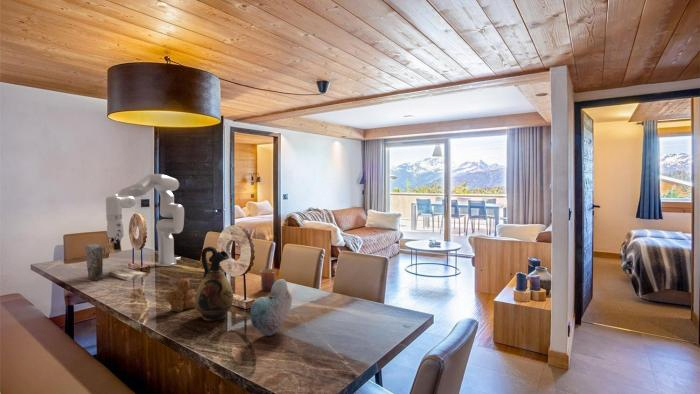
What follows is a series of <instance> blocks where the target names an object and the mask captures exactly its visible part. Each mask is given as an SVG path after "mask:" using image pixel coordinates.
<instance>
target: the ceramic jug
mask: <svg viewBox="0 0 700 394" xmlns="http://www.w3.org/2000/svg"><path fill="white" fill-rule="evenodd" d="M209 252H211V254H212V255H211V256H209V258H208V259H207V253H209ZM200 257H201V264H202V267H203V270H204V273H203V276H202V280H201V282H200V284H199V286H198V288H197V290H196V293H195V298H194V302H195V305H196V307H195V308H196V310H197V311H198V312H199V314H201V318H202V319H203V320H204V321H209V322H215V321H221V320H224V319H225V318H226V315H227V313H228V311H229V310H230V309H231V307H232V306H233V302H234V291H233V287H232V284H231V282H230V281H229V279H228V277H226V275H225V273H224V272H223V271H222V268H221V267H220V264H221V263H222V262H224V261H227V260H229V259H230V256H229V254H228V253H227V252H226V251H225V250H222V251H221V252H220V250H219V251H218V250H217V249H216V248H215V247H213V246H210V245H209V246H206V247H204V248H203V249H202V250H201V253H200ZM208 262H209V263H211V264H210V267H209V264H208Z"/></svg>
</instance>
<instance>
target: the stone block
mask: <svg viewBox="0 0 700 394" xmlns="http://www.w3.org/2000/svg"><path fill="white" fill-rule="evenodd" d="M102 246H103V245H101V244H98V243H94V244H86V245H85V246H84V247H85V256H86V267H87V275H88V276H87V279H89V280H91V281H94V282H96V281H99V280H103V270H104V269H103V266H104V263H103V260H104V259H103V257H104V256H103V254H104V250H103V248H101V247H102Z"/></svg>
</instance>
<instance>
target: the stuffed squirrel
mask: <svg viewBox="0 0 700 394" xmlns="http://www.w3.org/2000/svg"><path fill="white" fill-rule="evenodd" d="M174 284H176V286H177V287H178V288H174V289H173V290H170V291H168V292H167V293H166V294H165V296H164V297H165V300H166V302H168V303H169V305H170V308H171V310H172V311H174V312H177V313H179V312H183V311H184V310H189V309H194V308H196V305H195V300H194V298H193V295H194V294H195V289H194V288H193V289H190V287H192V286H194V284H193V283H192V282H191V281H190V280H189V279H188V278H181V279H179V280H175V281H174Z"/></svg>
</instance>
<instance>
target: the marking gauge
mask: <svg viewBox="0 0 700 394" xmlns="http://www.w3.org/2000/svg"><path fill="white" fill-rule="evenodd" d="M114 243H115V242H114V241H113V242H109V241H108V242H107V244H106V245H101V246H102V247H101V248H102V249H103V254H105V253H106V250H105V248H108V254H112V255H113V254H117V253H119V252H122V244H121V243H120V247H121V249H119V250H114Z"/></svg>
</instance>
